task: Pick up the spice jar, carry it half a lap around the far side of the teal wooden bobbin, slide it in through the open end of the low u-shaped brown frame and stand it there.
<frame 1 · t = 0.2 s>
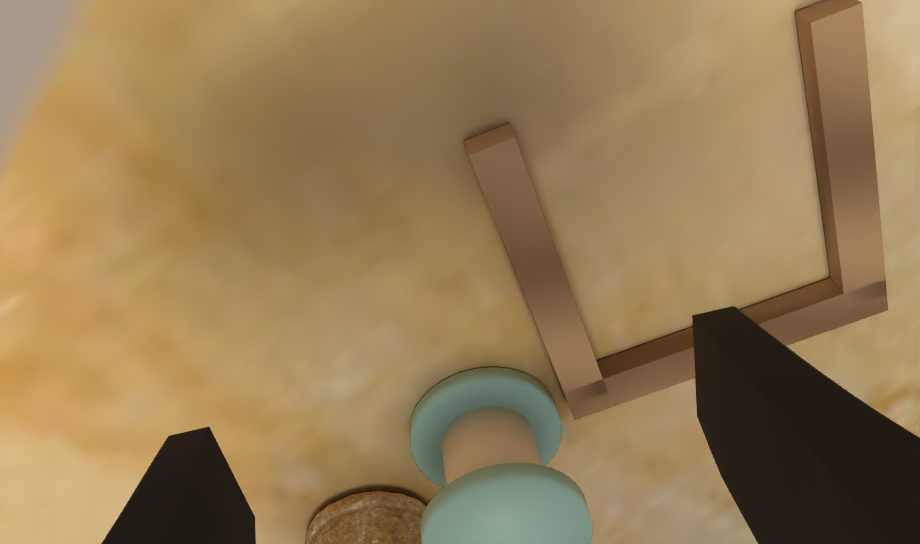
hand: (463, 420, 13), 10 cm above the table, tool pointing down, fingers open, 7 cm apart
spice jar: (372, 527, 29), on the table
u-shaped brown frame: (688, 224, 24), on the table
bobbin: (483, 424, 27), on the table
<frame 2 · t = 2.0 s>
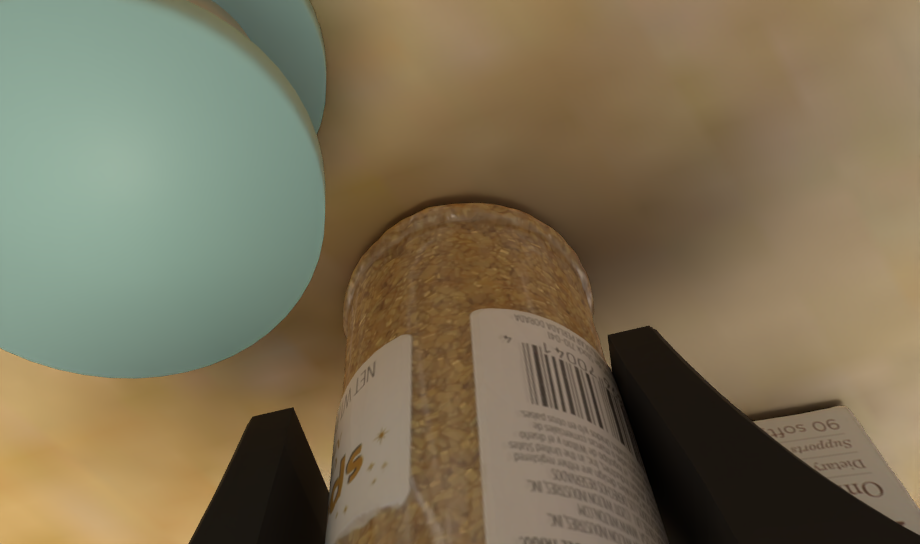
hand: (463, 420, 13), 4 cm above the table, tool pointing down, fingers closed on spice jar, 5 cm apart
spice jar: (469, 297, 16), on the table, touching gripper
supplement box: (669, 521, 21), on the table
bobbin: (170, 63, 13), on the table
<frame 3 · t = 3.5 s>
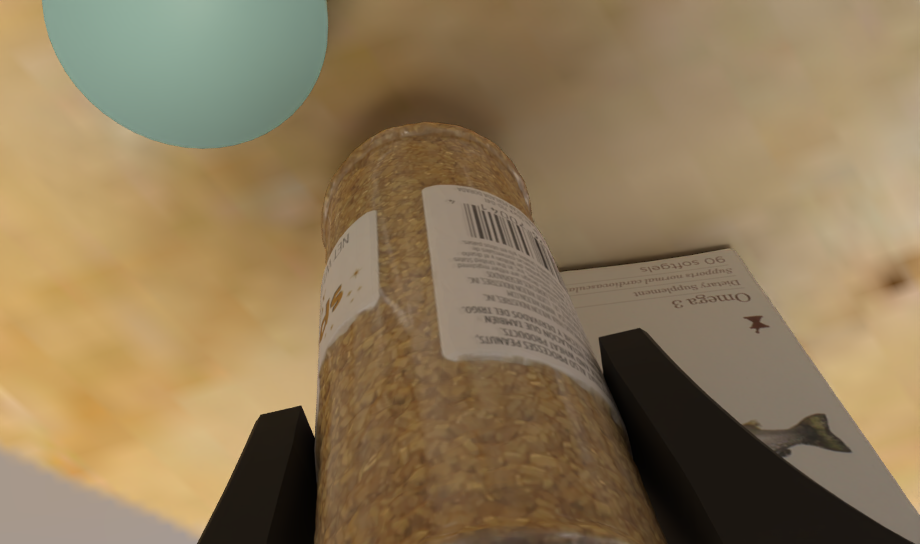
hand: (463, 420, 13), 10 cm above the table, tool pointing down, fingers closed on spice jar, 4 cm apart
spice jar: (427, 211, 19), point 3 cm above the table, touching gripper
supplement box: (601, 353, 26), on the table
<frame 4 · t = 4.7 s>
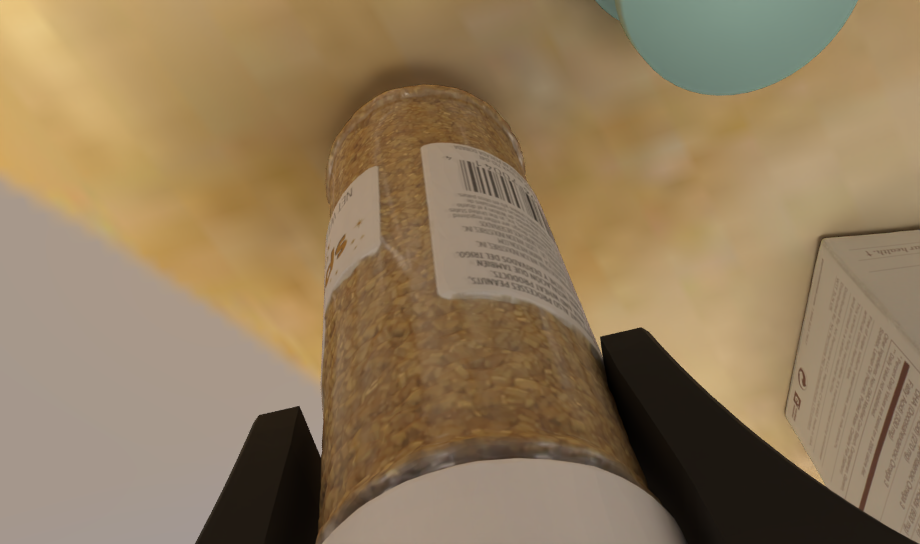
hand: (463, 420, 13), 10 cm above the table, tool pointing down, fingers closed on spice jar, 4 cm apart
spice jar: (426, 170, 20), point 2 cm above the table, touching gripper
supplement box: (903, 313, 27), on the table
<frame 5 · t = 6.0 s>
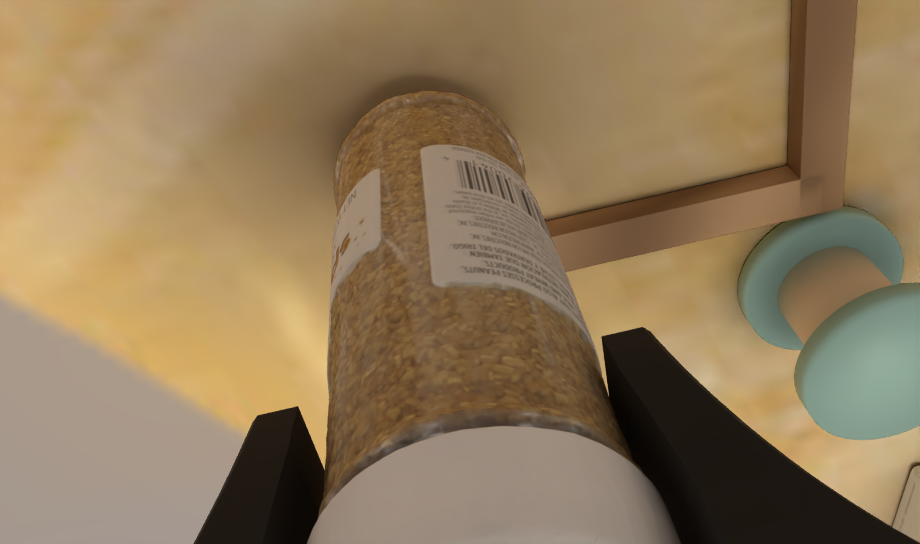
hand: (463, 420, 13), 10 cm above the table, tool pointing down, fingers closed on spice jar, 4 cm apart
spice jar: (430, 174, 21), point 1 cm above the table, touching gripper
u-shaped brown frame: (647, 71, 21), on the table
bobbin: (813, 273, 26), on the table
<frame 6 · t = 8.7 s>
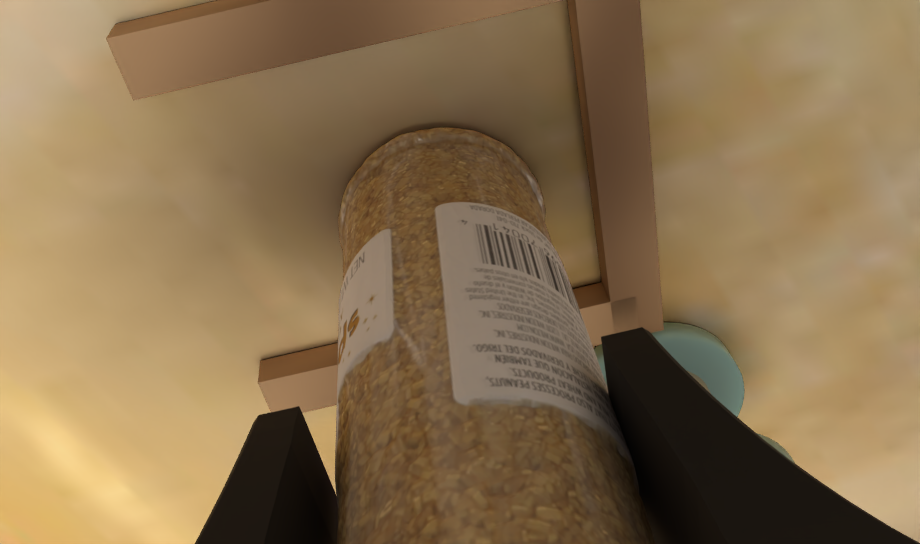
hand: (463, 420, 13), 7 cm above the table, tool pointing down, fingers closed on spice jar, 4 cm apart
spice jar: (442, 210, 19), on the table, touching gripper
u-shaped brown frame: (423, 187, 19), on the table
bobbin: (649, 391, 23), on the table
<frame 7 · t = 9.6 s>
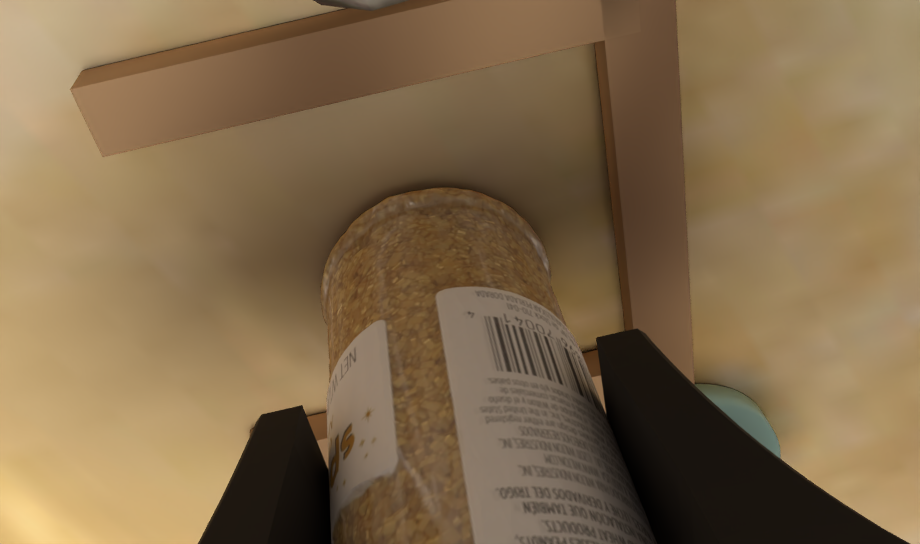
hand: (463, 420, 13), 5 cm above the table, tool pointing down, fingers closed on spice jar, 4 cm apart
spice jar: (436, 273, 17), on the table, touching gripper
u-shaped brown frame: (430, 245, 17), on the table
bobbin: (675, 455, 21), on the table
when the fingers open (5 cm above the table, at t = 9.7 s): spice jar stays where it is, on the table.
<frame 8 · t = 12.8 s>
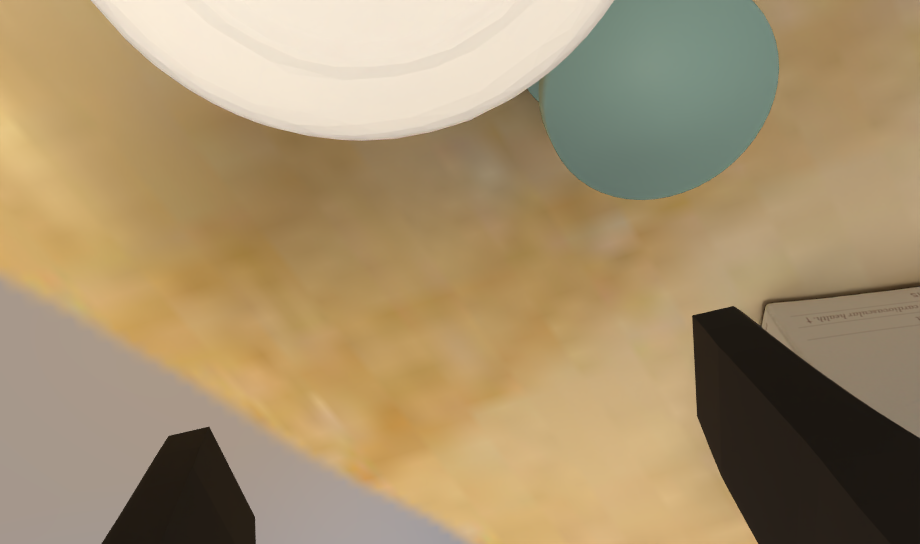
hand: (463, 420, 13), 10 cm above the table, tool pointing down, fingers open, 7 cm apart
supplement box: (849, 369, 28), on the table
bobbin: (603, 21, 21), on the table
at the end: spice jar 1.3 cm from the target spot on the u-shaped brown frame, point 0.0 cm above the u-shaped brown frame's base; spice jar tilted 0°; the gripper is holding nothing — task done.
